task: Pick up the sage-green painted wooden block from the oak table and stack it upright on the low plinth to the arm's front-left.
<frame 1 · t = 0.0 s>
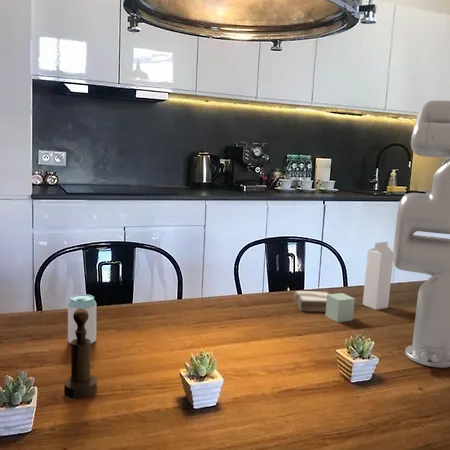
can: (82, 342, 137), on the table
plinth: (314, 305, 177), on the table
dark brown tall piece: (80, 392, 112), on the table
block: (338, 318, 166), on the table
milk: (375, 306, 180), on the table
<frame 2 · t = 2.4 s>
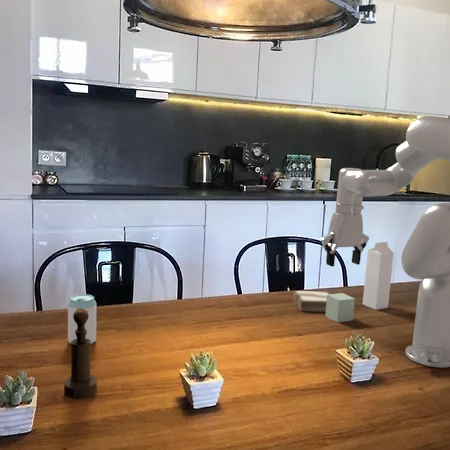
hand: (343, 264, 163), 17 cm above the table, tool pointing down, fingers open, 9 cm apart
nothing on the table moved.
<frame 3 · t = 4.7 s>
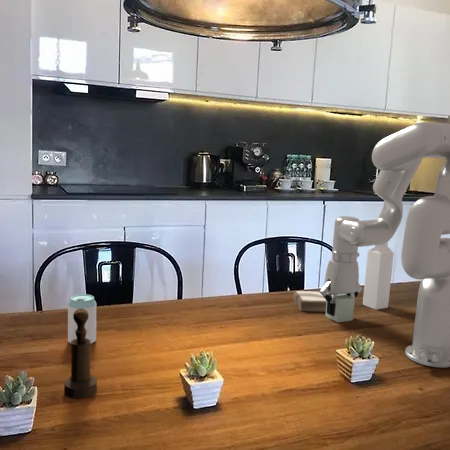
hand: (339, 312, 165), 2 cm above the table, tool pointing down, fingers closed on block, 6 cm apart
block: (338, 318, 166), on the table, touching gripper
everything else where it was.
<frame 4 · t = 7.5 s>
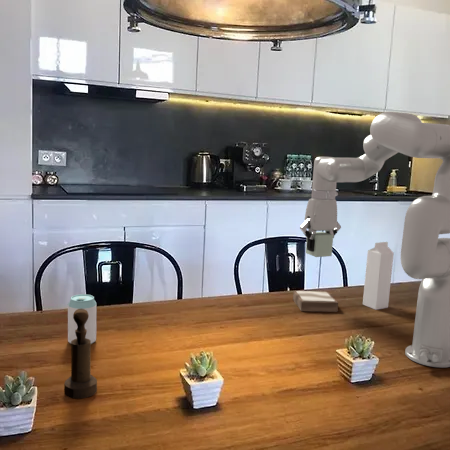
hand: (318, 249, 174), 19 cm above the table, tool pointing down, fingers closed on block, 6 cm apart
block: (318, 254, 174), point 17 cm above the table, touching gripper
everything else where it was.
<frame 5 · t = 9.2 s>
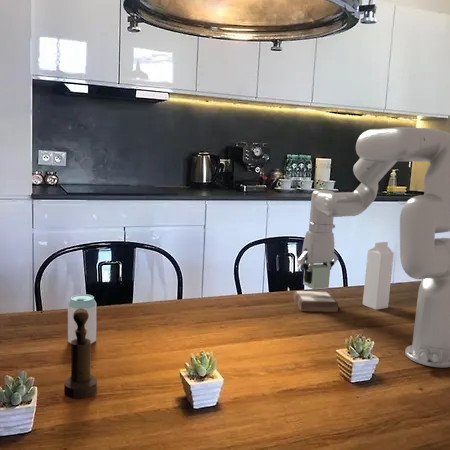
hand: (316, 281, 176), 8 cm above the table, tool pointing down, fingers closed on block, 6 cm apart
block: (315, 286, 176), point 7 cm above the table, touching gripper
everything else where it was.
when the fingers open (6 cm above the table, at t = 10.6 s): block drops 1 cm, resting on plinth.
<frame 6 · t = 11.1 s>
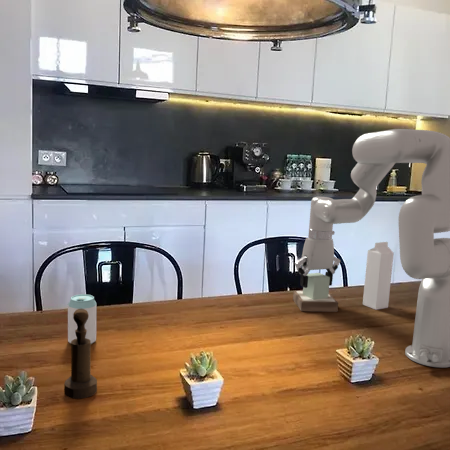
hand: (316, 285, 176), 7 cm above the table, tool pointing down, fingers open, 9 cm apart
block: (315, 296, 176), point 3 cm above the table, touching plinth
everything else where it was.
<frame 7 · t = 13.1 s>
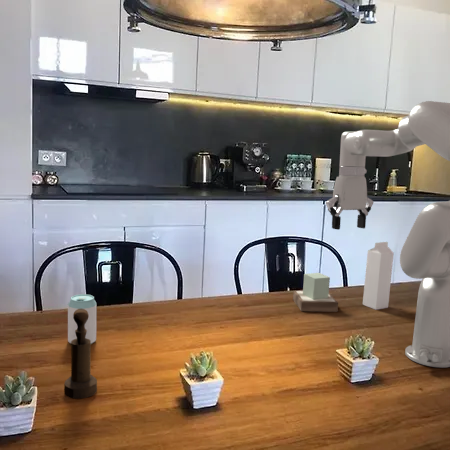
hand: (348, 228, 164), 28 cm above the table, tool pointing down, fingers open, 9 cm apart
nothing on the table moved.
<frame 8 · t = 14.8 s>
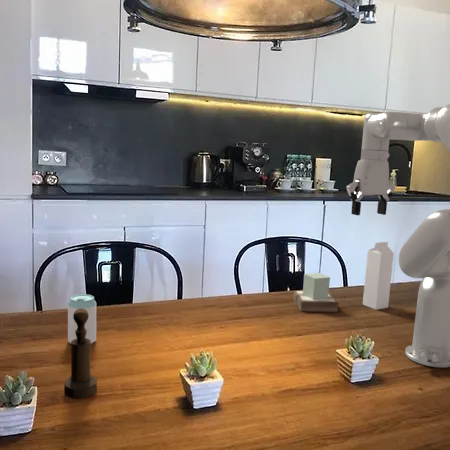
hand: (368, 214, 158), 33 cm above the table, tool pointing down, fingers open, 9 cm apart
nothing on the table moved.
at the end: block inside the target area on the plinth (0.0 cm from its centre), point 3.2 cm above the plinth's base; block tilted 0°; the gripper is holding nothing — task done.
